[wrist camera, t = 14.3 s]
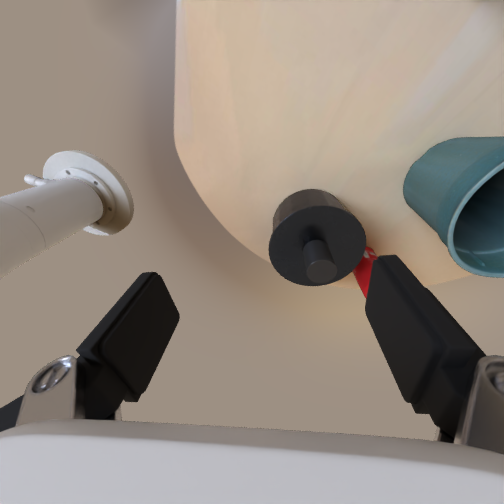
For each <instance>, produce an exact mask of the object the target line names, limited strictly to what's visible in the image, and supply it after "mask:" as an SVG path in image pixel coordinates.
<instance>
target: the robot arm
mask: <svg viewBox="0 0 504 504" xmlns="http://www.w3.org/2000/svg"><path fill="white" fill-rule="evenodd" d="M24 181H25V182H26V183H28V184H31V185H33V186H36V187H33V188H30V189H26V190H23V191H19V192H16V193H13V194H9V195H6V196H2V197H0V279H1V278H3V277H4V276H5V275H7V274H8V273H10V272H11V271H13V270H14V269H16V268H17V267H19V266H20V265H22V264H24V263H25V262H27V261H29V260H30V259H32V258H34V257H35V256H37V255H39V254H40V253H42V252H44V251H46V250H47V249H49V248H51V247H52V246H54V245H56V244H57V243H59V242H61V241H63V240H64V239H66V238H68V237H69V236H71V235H73V234H75V233H76V232H78V231H80V230H81V229H83V228H85V227H87V226H88V225H91V226H102V225H105V224H107V223H109V222H110V221H111V220H112V219H113V218H114V216H115V213H116V203H115V200H114V197H113V195H112V193H111V191H110V190H109V188H108V187H107V185H106V184H105V183H104V182H103V181H102V180H101V179H100V178H98V177H97V176H96V175H94V174H93V173H91V172H89V171H87V170H85V169H82V168H76V167H70V168H66V169H62V170H60V171H59V172H58V173H57V174H56V175H55V177H54V179H53V180H49V179H44V180H43V179H41V178H39V177H37V176H34V175H31V174H27V175H26V176H25V178H24ZM365 311H366V316H367V318H368V320H369V322H370V325H371V327H372V329H373V331H374V333H375V336H376V338H377V340H378V343H379V345H380V347H381V349H382V351H383V354H384V356H385V358H386V360H387V363H388V365H389V367H390V369H391V371H392V374H393V376H394V378H395V380H396V383H397V385H398V387H399V390H400V391H401V394H402V396H403V398H404V400H405V401H406V402H408V403H411V404H412V407H413V409H414V411H415V413H417V414H430V416H431V418H432V420H433V422H434V424H435V425H436V426H437V430H436V433H435V437H434V441H429V440H420V439H408V438H396V437H384V436H383V437H382V436H371V435H358V434H343V433H325V432H311V431H295V430H294V431H293V430H279V429H262V428H245V427H244V428H243V427H227V426H210V425H192V424H174V423H154V422H135V421H122V417H121V407H120V404H121V403H122V401H123V400H125V402H138V400H139V398H140V396H141V394H142V393H144V391H146V389H147V387H148V385H149V383H150V381H151V378H152V376H153V374H154V372H155V370H156V368H157V366H158V364H159V362H160V360H161V358H162V355H163V353H164V351H165V349H166V347H167V345H168V343H169V341H170V339H171V336H172V334H173V332H174V330H175V328H176V326H177V324H178V322H179V318H180V317H179V312H178V310H177V308H176V306H175V304H174V302H173V300H172V298H171V296H170V294H169V292H168V290H167V287H166V285H165V283H164V281H163V279H162V277H161V276H160V275H158V274H157V273H156V272H146V273H142V274H141V275H140V276H139V277H138V278H137V279H136V281H135V282H134V283H133V284H132V285H131V286H130V288H129V289H128V290H127V291H126V292H125V293H124V295H123V296H122V297H121V298H120V299H119V300H118V301H117V303H116V304H115V305H114V306H113V307H112V308H111V310H110V311H109V312H108V313H107V314H106V315H105V317H104V318H103V319H102V320H101V321H100V322H99V324H98V325H97V326H96V327H95V328H94V330H93V331H92V332H91V333H90V334H89V335H88V337H87V338H86V339H85V340H84V341H83V342H82V343H81V345H80V346H79V347H78V348H77V349H76V351H77V352H78V353H79V354H80V356H79V357H78V358H77V359H76V358H75V357H74V356H70V355H67V356H63V357H60V358H58V359H55V360H54V361H52V362H50V363H48V364H47V365H46V366H44V367H43V368H42V369H40V371H38V372H37V373H36V374H35V375H34V377H33V378H32V379H31V381H30V382H29V383H28V385H27V387H26V390H25V393H24V395H22V396H20V397H19V398H17V399H15V400H14V401H12V402H10V403H9V404H7V405H5V406H4V407H2V408H0V504H504V356H497V355H491V356H486V355H485V354H484V352H483V351H482V350H481V349H480V348H479V347H478V345H477V344H476V343H475V342H474V341H473V340H472V338H471V337H470V336H469V335H468V334H467V333H466V332H465V330H464V329H463V328H462V327H461V326H460V325H459V324H458V323H457V321H456V320H455V319H454V318H453V317H452V316H451V314H450V313H449V312H448V311H447V310H446V309H445V308H444V306H443V305H442V304H441V303H440V302H439V301H438V300H437V298H436V297H435V296H434V295H433V294H432V293H431V292H430V291H429V290H428V289H427V288H425V287H424V286H423V285H422V284H421V283H420V282H419V280H418V279H417V278H416V277H415V276H414V275H413V273H412V272H411V271H410V270H409V269H408V268H407V266H406V265H405V264H404V263H403V262H402V261H401V259H400V258H399V257H398V256H397V255H384V256H379V257H378V258H377V260H374V261H373V263H372V269H371V275H370V281H369V287H368V293H367V299H366V305H365Z"/></svg>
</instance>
